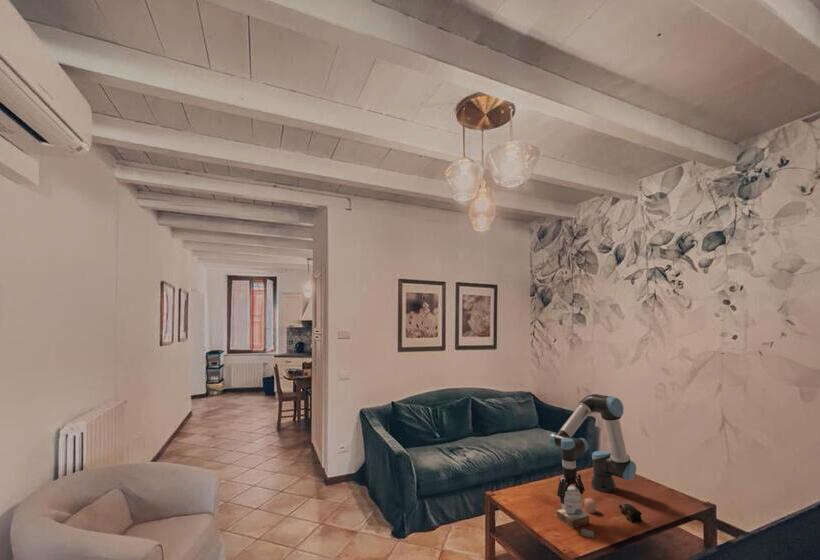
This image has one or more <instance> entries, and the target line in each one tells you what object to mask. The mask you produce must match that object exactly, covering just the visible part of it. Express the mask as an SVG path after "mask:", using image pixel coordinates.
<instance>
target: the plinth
mask: <svg viewBox="0 0 820 560" xmlns="http://www.w3.org/2000/svg"><path fill="white" fill-rule="evenodd" d="M556 518H559V519H561V520H562V521H564V522H565V523H567V524H568V525H570V526H571V527H570V526H569V527H570V528H572V527H573V528H572V529H575V528H574V527H576V528H578V527H577V526H579V527H581V526H580V525H583V526H585V525H584V524H586V525H588V524H587V523H589V524H590V515H589V514H588V513H587V512H585V511H583V510H582V514H574V513H566V511H565V510H564V509H562V508H560V509H556ZM559 519H558V520H559ZM561 520H560V521H561ZM562 521H561V522H562ZM564 522H563V523H564ZM565 523H564V524H565ZM567 524H566V525H567ZM568 525H567V526H568Z"/></svg>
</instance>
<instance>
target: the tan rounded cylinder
mask: <svg viewBox="0 0 820 560" xmlns="http://www.w3.org/2000/svg"><path fill="white" fill-rule="evenodd" d="M596 506H597V505H596V500H595V499H594V498H591V497H587V498H586V497H585V498H584V511H585V510H586V511H587V512H586V511H585V512H586V513H588V512H589V514H596V513H597V507H596Z"/></svg>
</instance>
